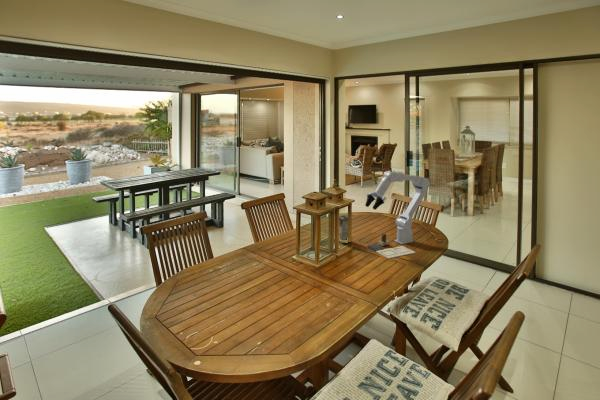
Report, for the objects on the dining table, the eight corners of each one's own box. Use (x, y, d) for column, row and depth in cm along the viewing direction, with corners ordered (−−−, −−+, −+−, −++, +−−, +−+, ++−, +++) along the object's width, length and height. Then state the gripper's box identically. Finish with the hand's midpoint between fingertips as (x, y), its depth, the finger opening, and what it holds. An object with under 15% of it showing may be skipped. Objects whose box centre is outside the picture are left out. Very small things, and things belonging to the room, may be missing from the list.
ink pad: (376, 245, 228) (376, 243, 227) (383, 249, 222) (383, 247, 221) (367, 247, 225) (367, 245, 225) (373, 251, 219) (373, 248, 218)
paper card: (402, 246, 226) (402, 245, 225) (415, 252, 215) (415, 252, 215) (375, 251, 218) (375, 250, 218) (388, 258, 207) (388, 257, 207)
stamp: (384, 243, 231) (385, 233, 229) (388, 245, 227) (389, 234, 226) (378, 244, 229) (378, 234, 227) (382, 246, 225) (382, 236, 224)
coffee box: (335, 239, 240) (336, 216, 236) (344, 238, 242) (345, 215, 238) (341, 244, 232) (341, 220, 228) (350, 242, 233) (350, 219, 230)
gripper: (370, 183, 223) (359, 201, 222) (385, 187, 210) (372, 207, 210) (377, 189, 227) (366, 207, 226) (392, 193, 214) (380, 212, 213)
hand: (370, 207), depth 218 cm, fingers open, 7 cm apart
